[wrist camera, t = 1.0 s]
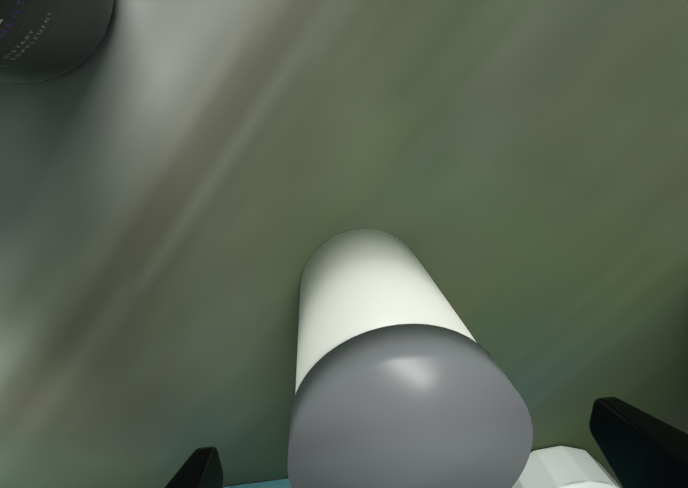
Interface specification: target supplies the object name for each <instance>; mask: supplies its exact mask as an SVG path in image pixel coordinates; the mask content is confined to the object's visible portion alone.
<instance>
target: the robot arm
mask: <svg viewBox="0 0 688 488" xmlns="http://www.w3.org/2000/svg"><path fill="white" fill-rule="evenodd" d="M589 426H590V431H591V433H592V435H593V437H594V439H595V441H596V442H597V444H598V446H599V447H600V449H601V451H602V452H603V454H604V456H605V458H606V459H607V461H608V463H609V464H610V466H611V468H612V469H613V471H614V473H615V475H616V476H617V478H618V480H619V481H620V483H621V485H622V486H623V488H688V434H686V433H684V432H682V431H680V430H678V429H676V428H674V427H672V426H671V425H669V424H667V423H665V422H663V421H661V420H659V419H657V418H655V417H653V416H651V415H649V414H647V413H645V412H643V411H641V410H639V409H637V408H636V407H634V406H632V405H630V404H628V403H626V402H624V401H622V400H620V399H618V398H615V397H605V398H598V399H596V400H595V401H594V405H593V409H592V413H591V418H590V423H589ZM222 487H223V470H222V467H221V463H220V459H219V455H218V452H217V449H216V448H215V447H213V446H211V447H203V448H198V449H196V450H195V451H194V452H193V453H192V455H191V456H190V457H189V458H188V460H187V461H186V462H185V463H184V464H183V466H182V467H181V468H180V469H179V471H178V472H177V473H176V474H175V475H174V477H173V478H172V479H171V480H170V482H169V483H168V484H167V485H166V487H165V488H222Z"/></svg>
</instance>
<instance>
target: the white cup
mask: <svg viewBox="0 0 688 488" xmlns="http://www.w3.org/2000/svg"><path fill="white" fill-rule="evenodd" d="M512 488H621V487H620V486H619V485H618V484H617V483H616V481H615V480H614V479H613V478H612V477H611V476H610V474H609V473H608V472H607V471H606V470H605V469H604V468H603V466H602V465H601V464H600V463H599V462H598V461H597V460H595V459H594V458H593V457H592V456H591V455H590V454H589V453H587V452H586V451H585V450H582V449H577V448H572V447H567V446H555V447H549V448H544V449H539V450H534V451H532V452H530V456H529V459H528V461H527V463H526V466H525V468H524V470H523V472H522V473H521V475H520V477H519V479H518V480H517V481H516V483H515V484H514V485H513V487H512Z"/></svg>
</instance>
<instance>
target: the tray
mask: <svg viewBox="0 0 688 488" xmlns="http://www.w3.org/2000/svg"><path fill="white" fill-rule="evenodd" d="M222 488H291V486H290V482H289V478H288V479H280V480H273V481H265V482H258V483H250V484H243V485H235V486H228V487H222Z"/></svg>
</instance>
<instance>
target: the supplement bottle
mask: <svg viewBox="0 0 688 488" xmlns="http://www.w3.org/2000/svg"><path fill="white" fill-rule="evenodd" d="M113 3H114V0H0V83H33V82H40V81H45V80H49V79H52V78H56V77H58V76H60V75H63V74H65V73H67V72H69V71H71V70H72V69H74V68H76V67H77V66H78V65H80V64H81V63H82V62H84V61H85V60H86V59H87V58H88V57H89V56H90V55H91V54H92V52H93V51H94V50H95V49H96V47H97V46H98V44H99V43H100V41H101V40H102V38H103V36H104V34H105V32H106V29H107V27H108V24H109V21H110V18H111V14H112V9H113Z"/></svg>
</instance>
